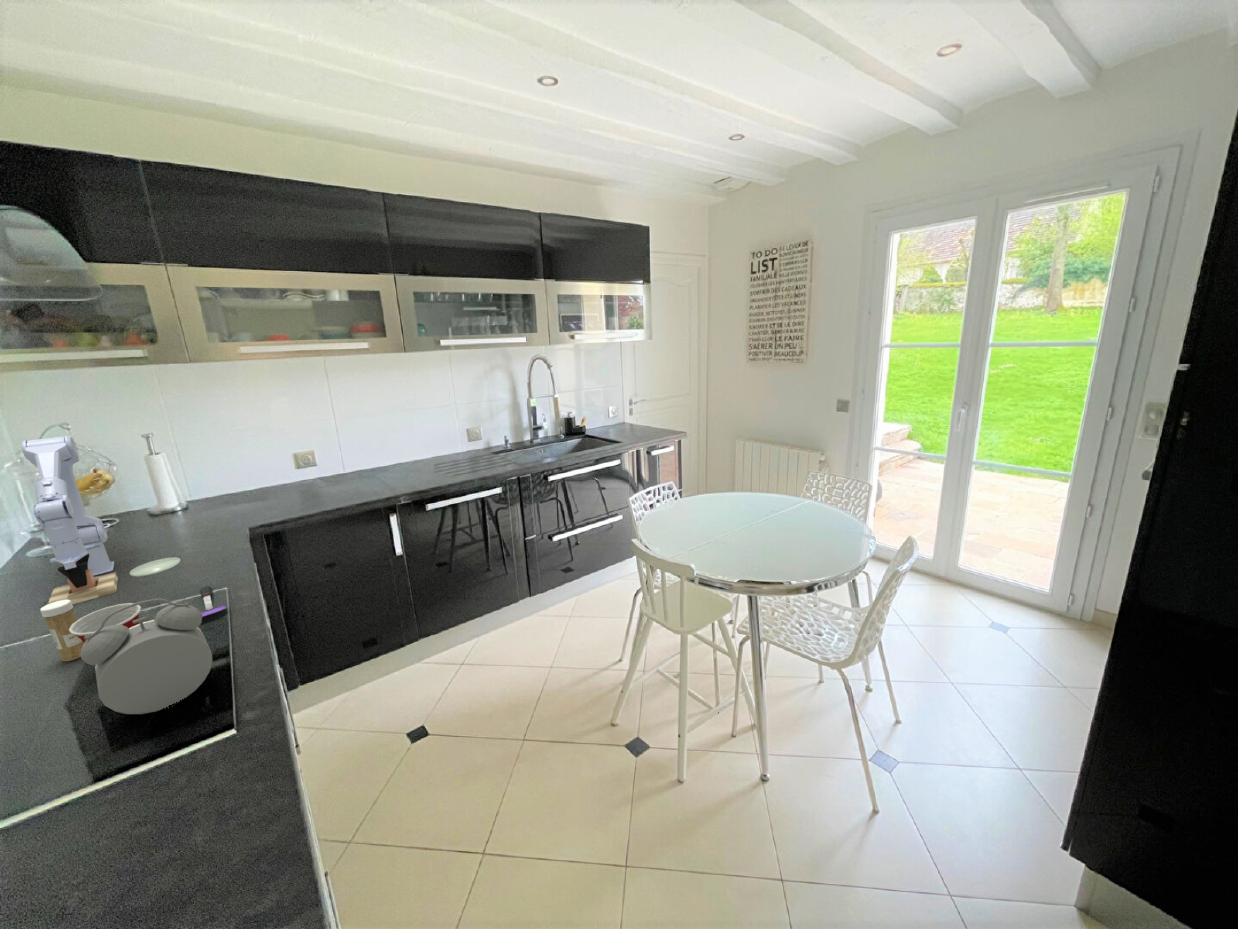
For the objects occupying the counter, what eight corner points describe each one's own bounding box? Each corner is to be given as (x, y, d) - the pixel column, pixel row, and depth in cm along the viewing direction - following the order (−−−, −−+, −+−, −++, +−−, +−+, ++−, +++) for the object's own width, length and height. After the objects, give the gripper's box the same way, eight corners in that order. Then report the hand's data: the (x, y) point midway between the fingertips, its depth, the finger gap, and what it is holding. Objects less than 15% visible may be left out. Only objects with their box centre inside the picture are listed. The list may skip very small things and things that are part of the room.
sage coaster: (130, 568, 153) (130, 567, 153) (179, 555, 161) (179, 554, 161) (129, 580, 145) (129, 578, 144) (181, 566, 153) (181, 564, 152)
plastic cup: (86, 688, 97) (66, 638, 94) (89, 665, 105) (69, 618, 102) (158, 661, 105) (141, 614, 102) (155, 642, 112) (139, 597, 109)
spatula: (191, 594, 135) (189, 586, 134) (221, 585, 139) (219, 577, 139) (194, 628, 118) (191, 619, 117) (228, 616, 122) (226, 608, 122)
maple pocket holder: (56, 594, 138) (54, 588, 137) (117, 578, 146) (115, 572, 146) (50, 610, 129) (47, 603, 129) (116, 592, 138) (113, 585, 137)
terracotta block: (75, 593, 138) (68, 574, 136) (97, 587, 141) (90, 568, 139) (74, 598, 135) (66, 579, 133) (96, 592, 138) (89, 573, 136)
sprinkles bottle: (86, 657, 108) (65, 605, 104) (58, 665, 106) (35, 612, 102) (94, 646, 112) (73, 596, 108) (66, 654, 109) (44, 603, 106)
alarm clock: (218, 670, 101) (189, 578, 95) (227, 688, 95) (196, 591, 89) (108, 717, 89) (67, 615, 83) (111, 741, 83) (66, 633, 78)
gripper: (47, 538, 136) (65, 580, 139) (40, 552, 126) (58, 597, 129) (83, 530, 140) (99, 571, 144) (79, 544, 130) (96, 587, 134)
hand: (82, 583), depth 137 cm, fingers closed on terracotta block, 4 cm apart
